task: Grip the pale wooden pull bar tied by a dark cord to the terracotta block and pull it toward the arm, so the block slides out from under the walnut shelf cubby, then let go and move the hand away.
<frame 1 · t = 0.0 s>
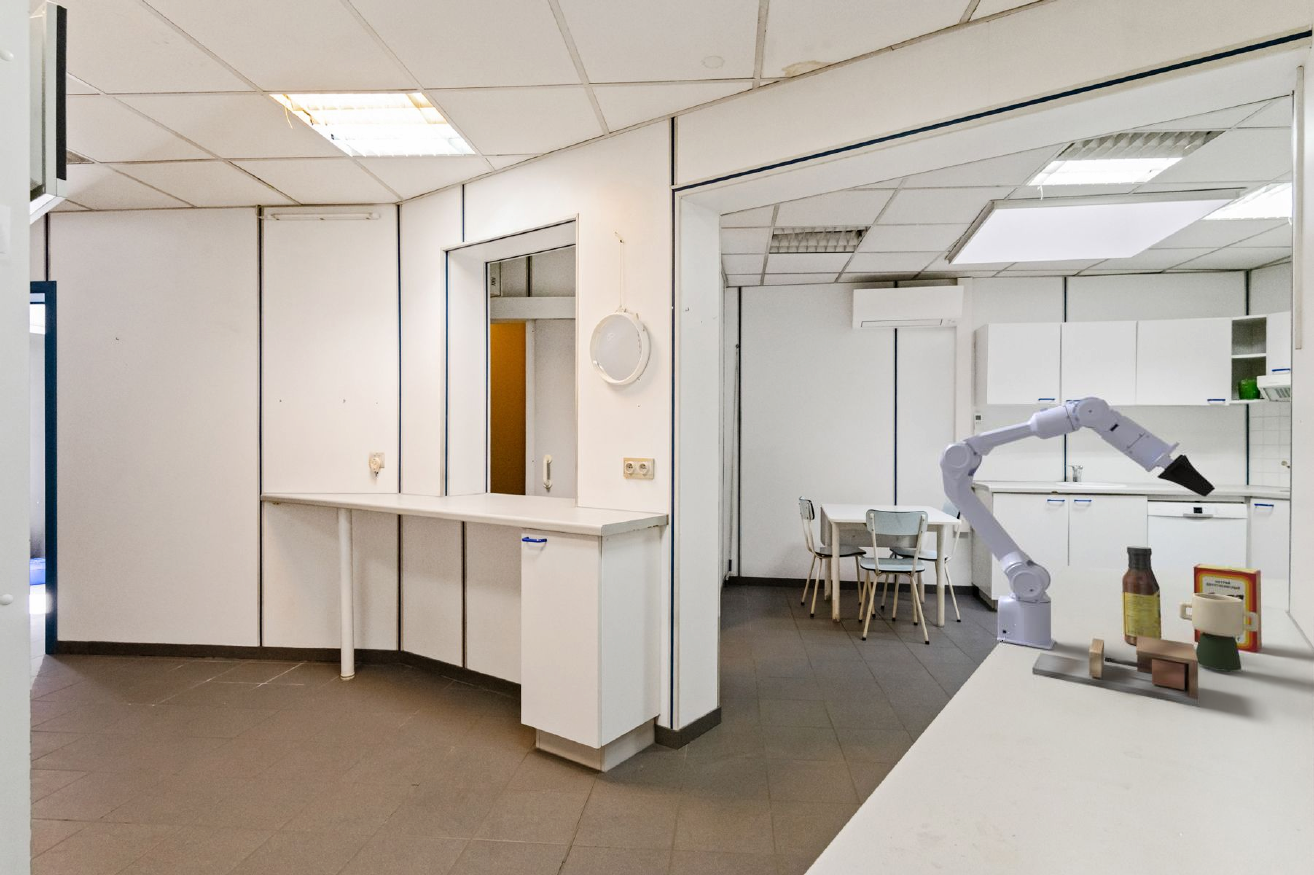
hand: (1208, 491, 111), 32 cm above the table, tool tilted 50°, fingers open, 7 cm apart
character mug: (1217, 670, 113), on the table
baking soda box: (1227, 645, 128), on the table
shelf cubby: (1163, 689, 102), on the table
sauce bottle: (1141, 645, 128), on the table
pull block: (1135, 664, 104), point 3 cm above the table, slide at 0.0 cm
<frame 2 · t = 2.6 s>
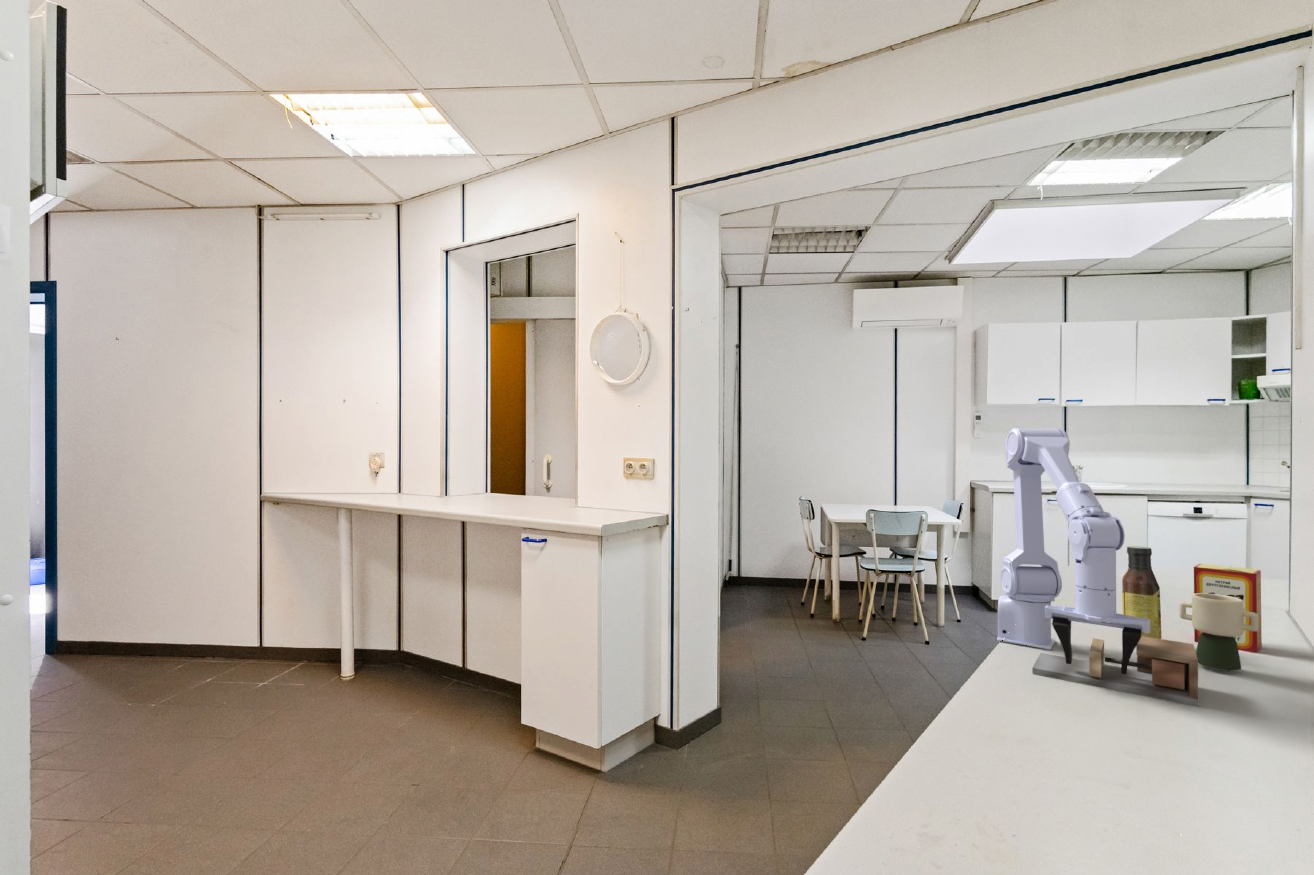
hand: (1095, 667, 105), 2 cm above the table, tool pointing down, fingers open, 7 cm apart
nothing on the table moved.
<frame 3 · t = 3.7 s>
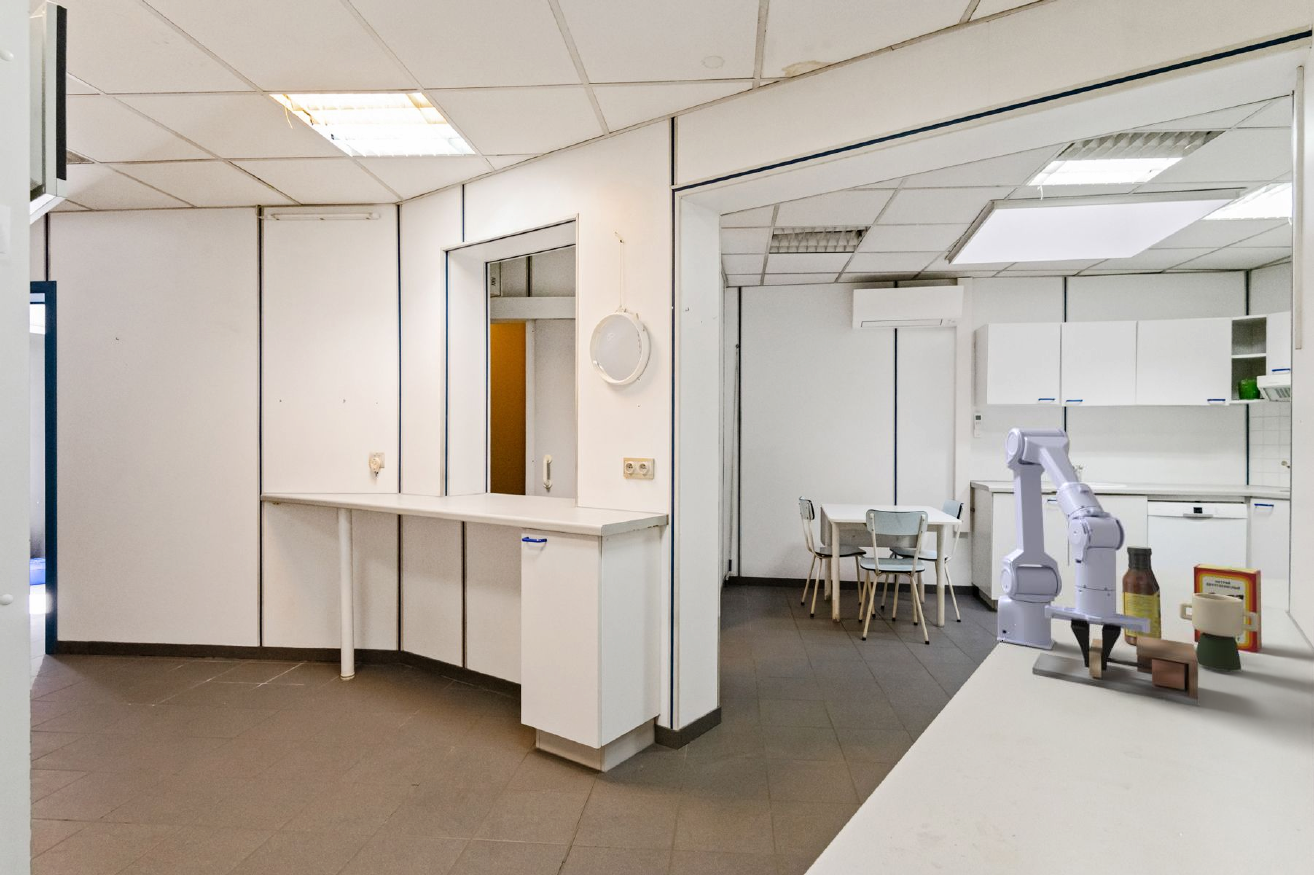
hand: (1095, 667, 105), 2 cm above the table, tool pointing down, fingers closed on pull block, 2 cm apart
pull block: (1135, 664, 104), point 3 cm above the table, slide at 0.0 cm, touching gripper
everything else where it was.
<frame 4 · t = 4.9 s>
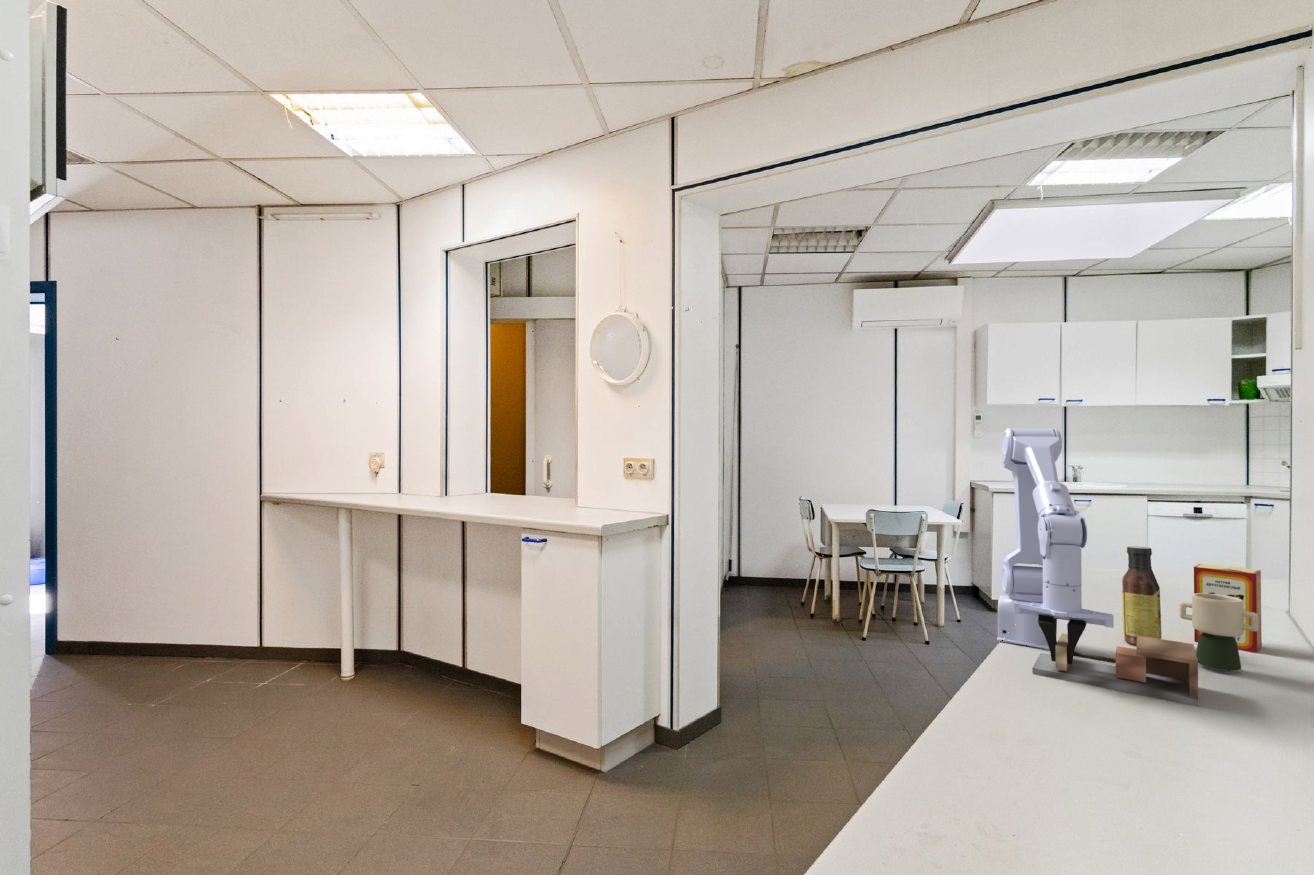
hand: (1062, 661, 108), 2 cm above the table, tool pointing down, fingers closed on pull block, 2 cm apart
pull block: (1100, 658, 107), point 3 cm above the table, slide at 4.8 cm, touching gripper
everything else where it was.
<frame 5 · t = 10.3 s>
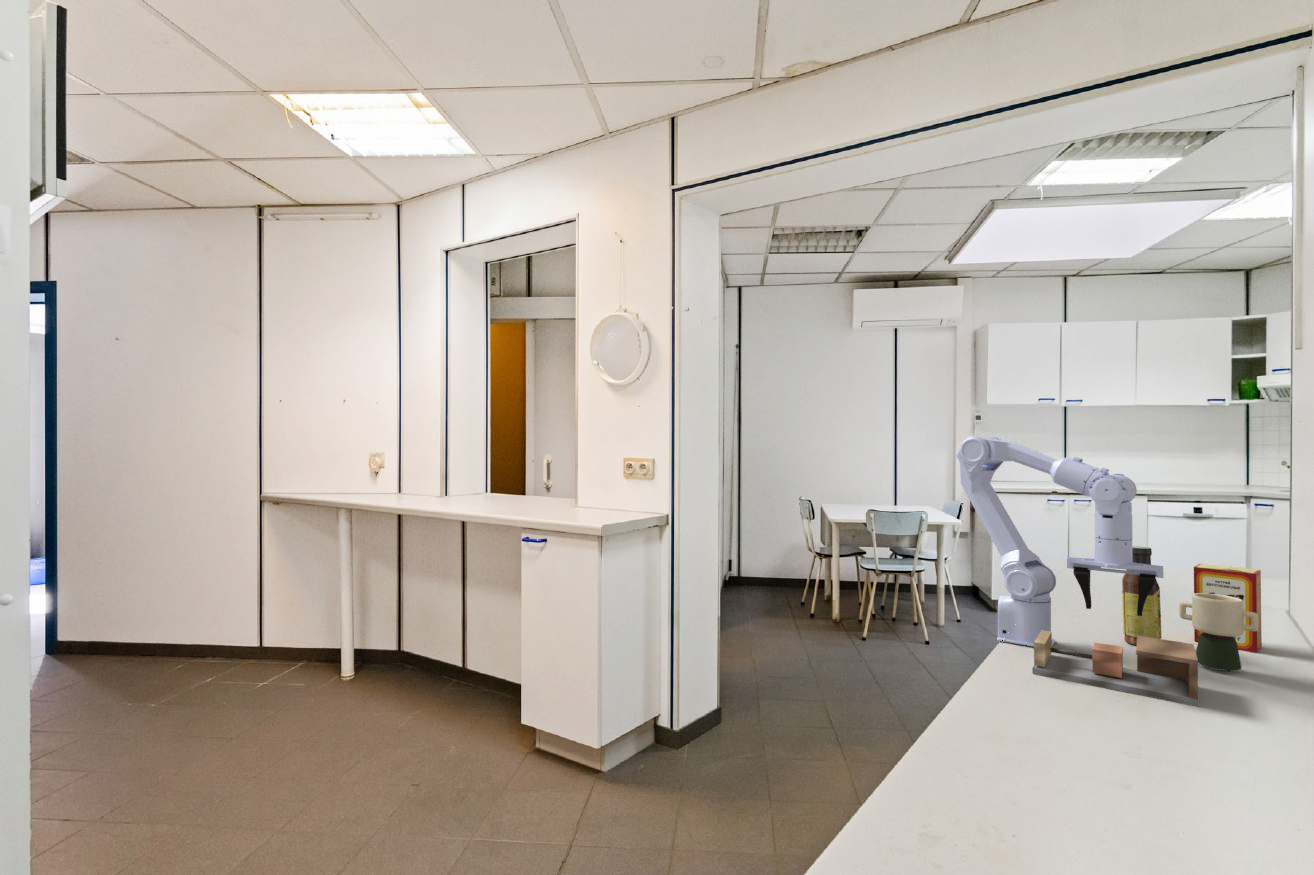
hand: (1113, 611, 116), 9 cm above the table, tool pointing down, fingers open, 7 cm apart
pull block: (1078, 654, 109), point 3 cm above the table, slide at 8.0 cm
everything else where it was.
at the end: pull block slide at 8.0 cm; the gripper is holding nothing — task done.
